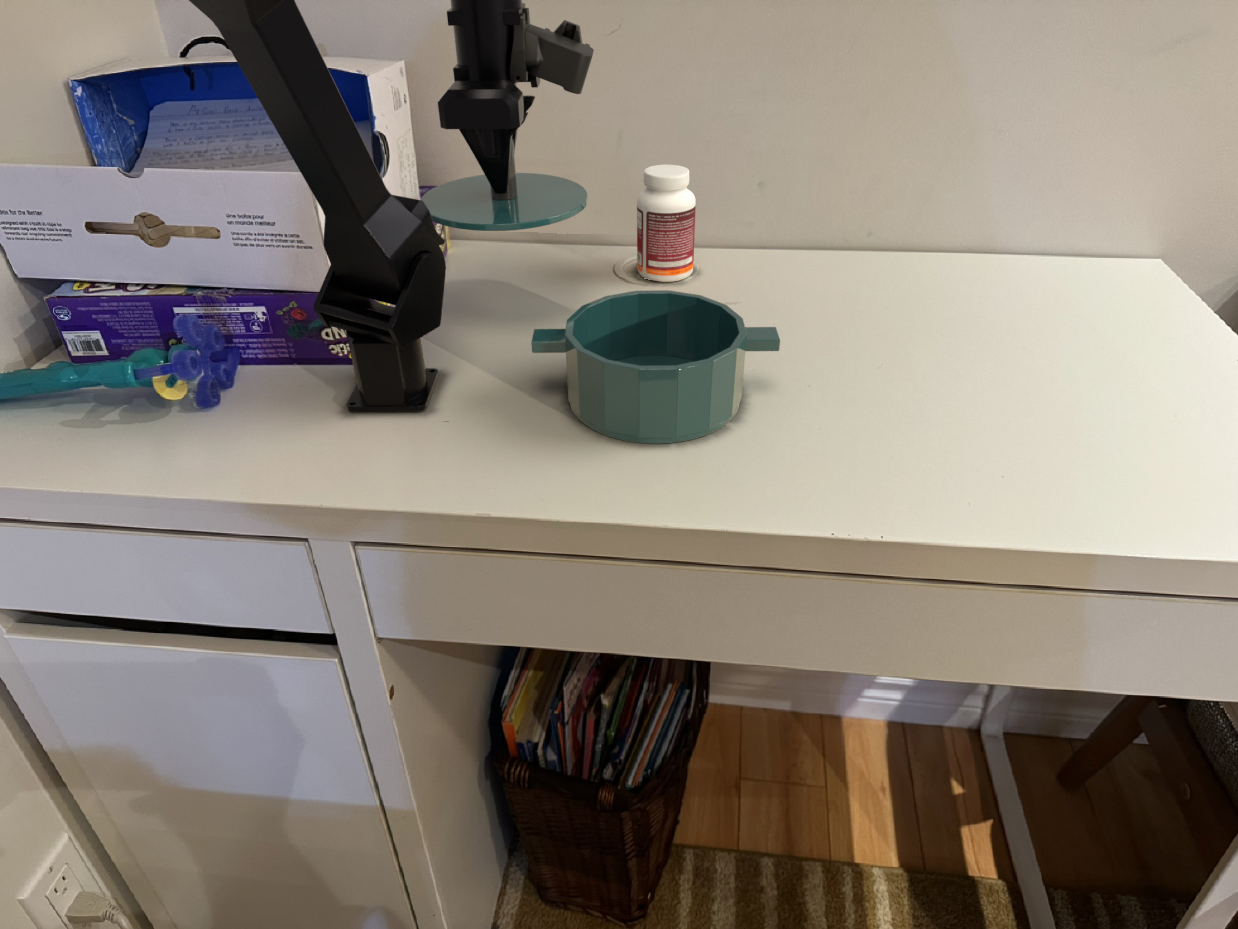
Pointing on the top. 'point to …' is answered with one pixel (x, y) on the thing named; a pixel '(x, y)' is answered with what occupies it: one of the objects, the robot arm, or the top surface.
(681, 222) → the pill bottle
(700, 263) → the top surface
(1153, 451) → the top surface
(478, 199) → the lid
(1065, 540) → the top surface
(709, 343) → the teal cooking pot
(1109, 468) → the top surface
